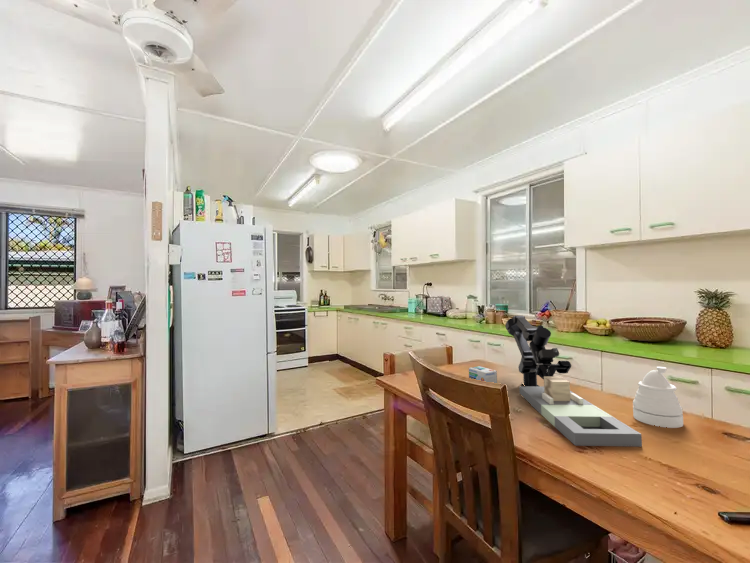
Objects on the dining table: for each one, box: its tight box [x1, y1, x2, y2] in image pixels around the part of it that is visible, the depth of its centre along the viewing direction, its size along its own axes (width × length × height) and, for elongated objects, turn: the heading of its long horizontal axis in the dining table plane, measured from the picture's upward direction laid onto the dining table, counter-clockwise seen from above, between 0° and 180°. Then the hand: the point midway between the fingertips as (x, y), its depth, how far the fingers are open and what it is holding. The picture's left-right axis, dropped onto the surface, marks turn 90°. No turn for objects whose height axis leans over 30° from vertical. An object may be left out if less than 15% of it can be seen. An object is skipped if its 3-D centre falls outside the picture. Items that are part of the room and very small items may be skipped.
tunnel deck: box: [519, 385, 643, 448], centre depth 119 cm, size 47×18×6 cm, turn 175°
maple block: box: [543, 375, 571, 401], centre depth 127 cm, size 8×6×7 cm
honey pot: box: [632, 366, 684, 429], centre depth 113 cm, size 13×13×18 cm
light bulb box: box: [468, 365, 498, 384], centre depth 145 cm, size 11×7×11 cm, turn 25°
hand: (551, 385), depth 132 cm, fingers closed
